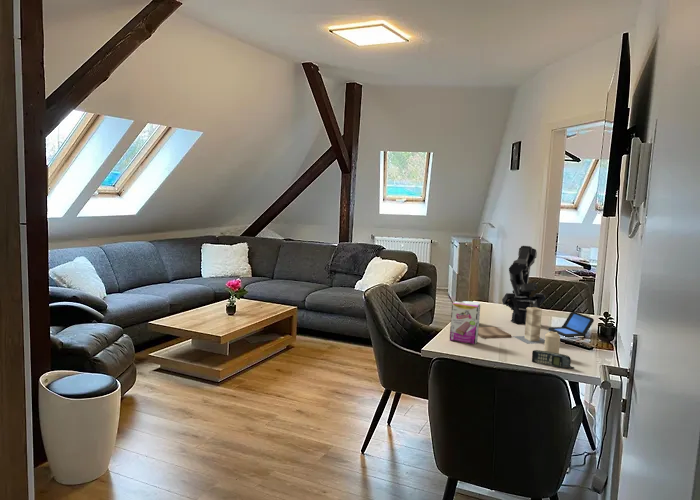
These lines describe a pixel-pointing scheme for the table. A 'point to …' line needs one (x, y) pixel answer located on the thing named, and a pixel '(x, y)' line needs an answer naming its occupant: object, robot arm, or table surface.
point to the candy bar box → (464, 322)
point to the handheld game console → (574, 325)
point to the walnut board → (492, 332)
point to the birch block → (533, 323)
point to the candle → (552, 342)
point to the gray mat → (529, 341)
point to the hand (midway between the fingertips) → (529, 314)
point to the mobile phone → (551, 359)
